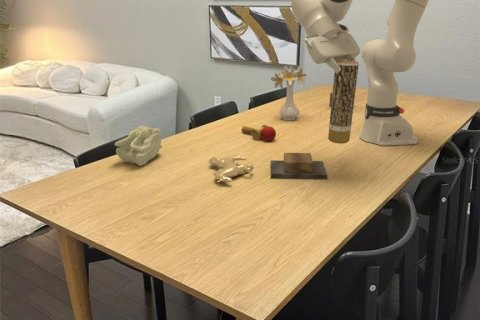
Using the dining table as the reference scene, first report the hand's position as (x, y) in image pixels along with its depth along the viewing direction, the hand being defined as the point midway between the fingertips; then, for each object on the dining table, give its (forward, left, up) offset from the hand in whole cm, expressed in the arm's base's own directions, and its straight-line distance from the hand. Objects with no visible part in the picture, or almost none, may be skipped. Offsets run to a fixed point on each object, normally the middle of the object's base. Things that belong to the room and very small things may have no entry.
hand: (347, 70), depth 125 cm
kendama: (+28, -38, -34) cm, 58 cm away
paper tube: (+1, -1, -23) cm, 23 cm away
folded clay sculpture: (+69, -9, -34) cm, 77 cm away
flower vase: (+14, -65, -34) cm, 75 cm away
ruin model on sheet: (-15, -89, -35) cm, 97 cm away
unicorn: (+30, -4, -32) cm, 44 cm away
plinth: (+14, -1, -34) cm, 37 cm away
